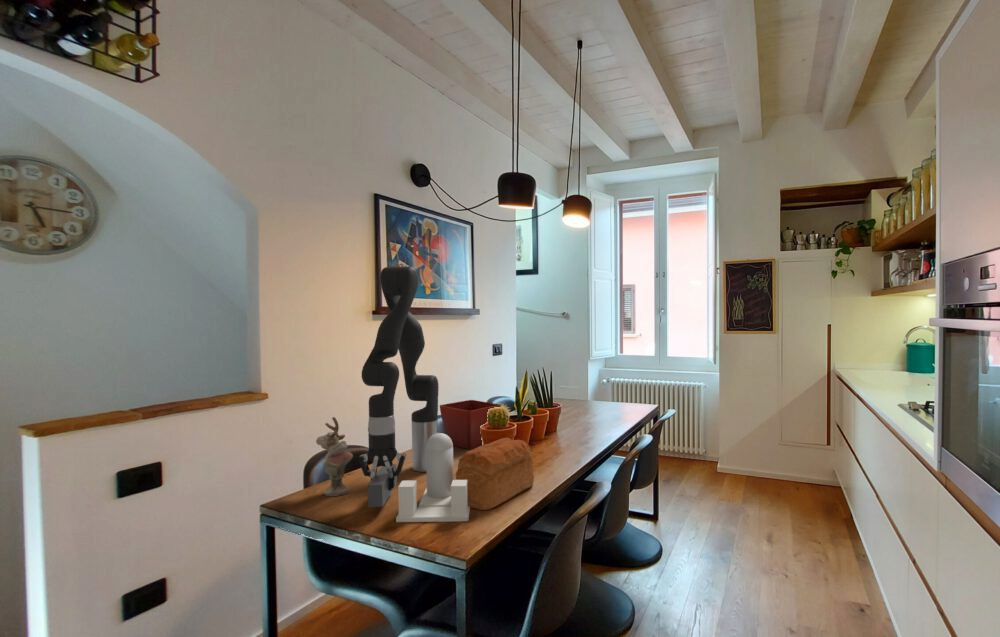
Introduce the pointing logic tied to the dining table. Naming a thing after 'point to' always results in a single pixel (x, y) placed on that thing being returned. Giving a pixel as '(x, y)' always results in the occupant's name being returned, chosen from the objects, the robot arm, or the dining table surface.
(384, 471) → the gray bar
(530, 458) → the bread
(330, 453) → the decorative bust
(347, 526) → the dining table surface
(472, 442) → the plant pot
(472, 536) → the dining table surface
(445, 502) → the display stand
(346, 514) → the dining table surface
